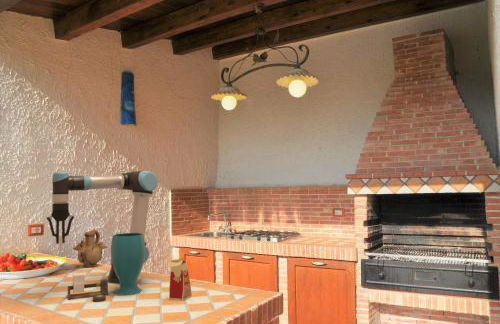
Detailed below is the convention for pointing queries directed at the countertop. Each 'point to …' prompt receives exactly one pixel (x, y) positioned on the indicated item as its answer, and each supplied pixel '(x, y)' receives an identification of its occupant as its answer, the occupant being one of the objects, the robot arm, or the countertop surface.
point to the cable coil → (99, 298)
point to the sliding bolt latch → (103, 291)
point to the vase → (128, 261)
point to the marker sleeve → (78, 283)
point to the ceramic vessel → (90, 249)
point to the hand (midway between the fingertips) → (60, 249)
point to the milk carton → (179, 281)
